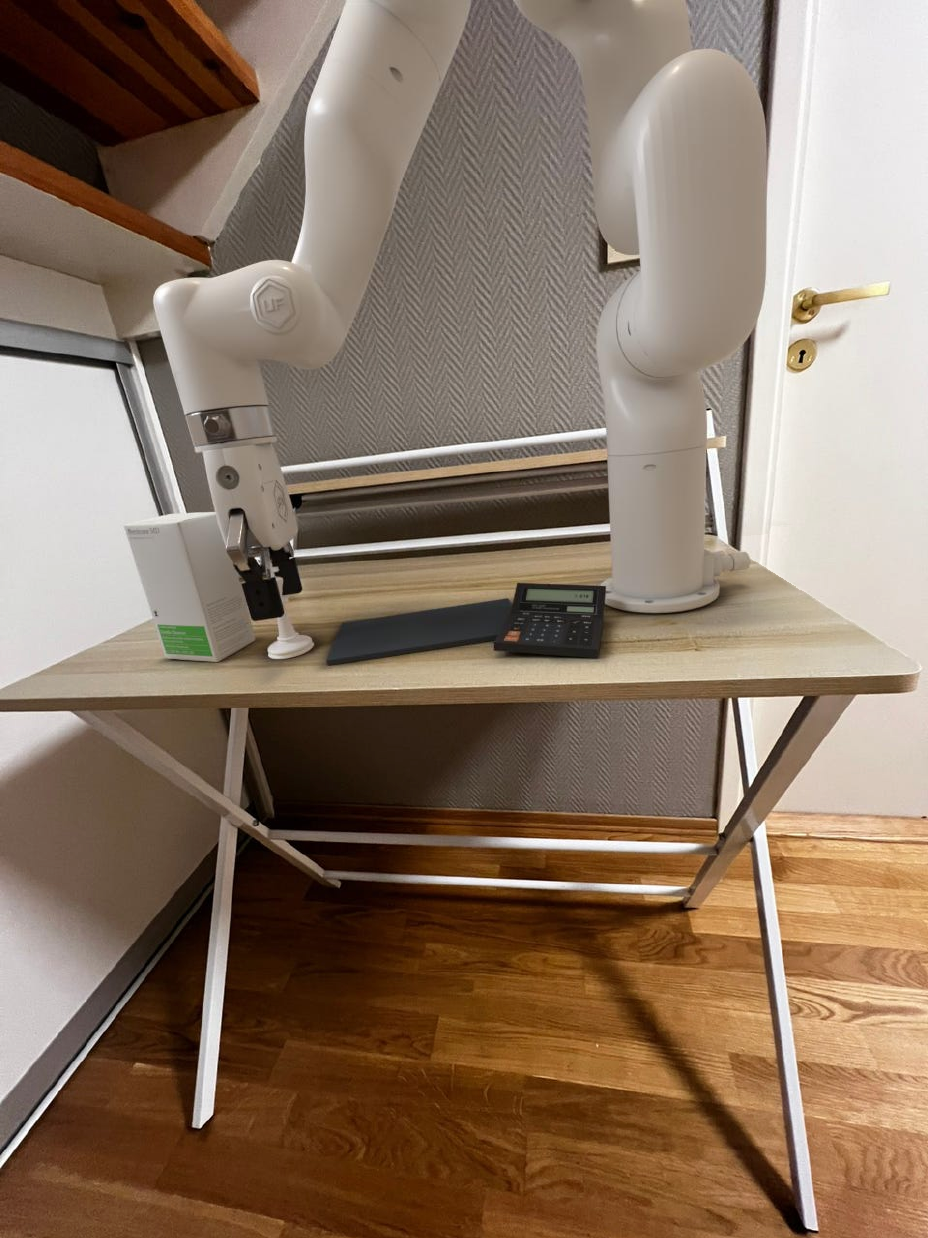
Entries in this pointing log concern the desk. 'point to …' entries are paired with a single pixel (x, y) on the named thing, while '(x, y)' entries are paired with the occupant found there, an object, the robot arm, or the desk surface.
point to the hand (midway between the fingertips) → (279, 604)
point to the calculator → (554, 620)
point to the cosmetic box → (191, 586)
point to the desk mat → (419, 631)
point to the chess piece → (287, 632)
